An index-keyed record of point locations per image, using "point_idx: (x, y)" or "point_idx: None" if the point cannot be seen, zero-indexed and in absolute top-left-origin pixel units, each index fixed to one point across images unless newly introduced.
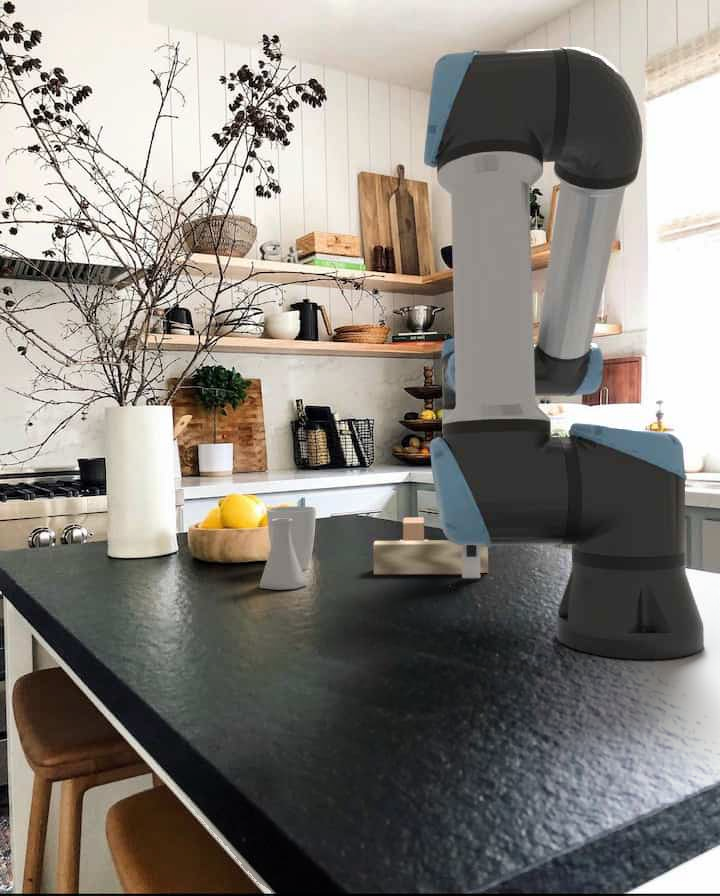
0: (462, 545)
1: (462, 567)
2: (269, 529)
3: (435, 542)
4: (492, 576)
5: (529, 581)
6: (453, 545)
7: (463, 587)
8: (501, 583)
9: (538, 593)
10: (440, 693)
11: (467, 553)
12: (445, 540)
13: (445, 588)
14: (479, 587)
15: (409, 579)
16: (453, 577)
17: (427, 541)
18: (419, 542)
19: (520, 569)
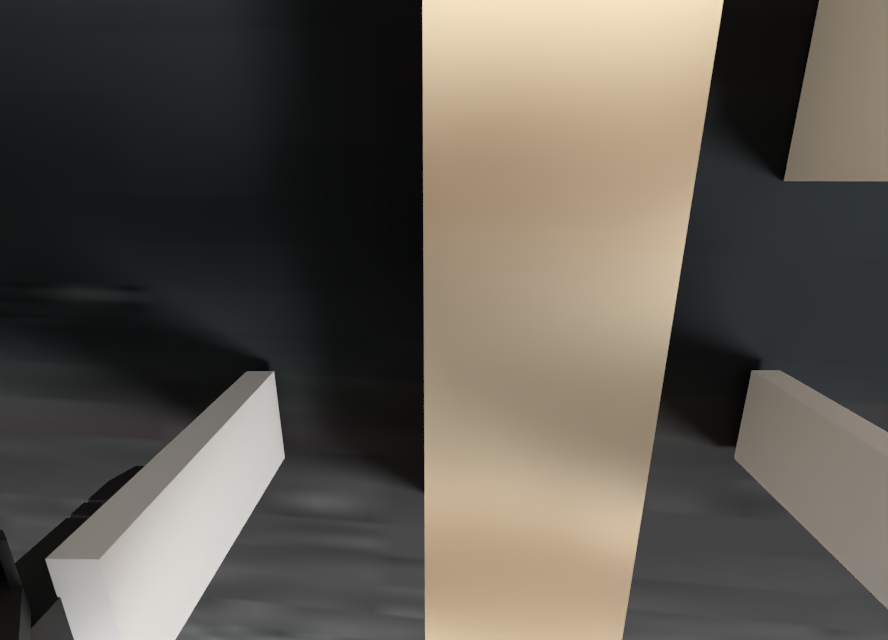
0: (126, 490)
1: (219, 398)
2: None
3: (540, 253)
4: (364, 509)
5: (254, 633)
6: (427, 408)
7: (62, 361)
8: None
9: None
10: None
11: (108, 485)
12: (659, 353)
13: (13, 269)
14: (80, 434)
15: (244, 41)
16: (329, 323)
17: (621, 166)
18: (559, 68)
19: None
